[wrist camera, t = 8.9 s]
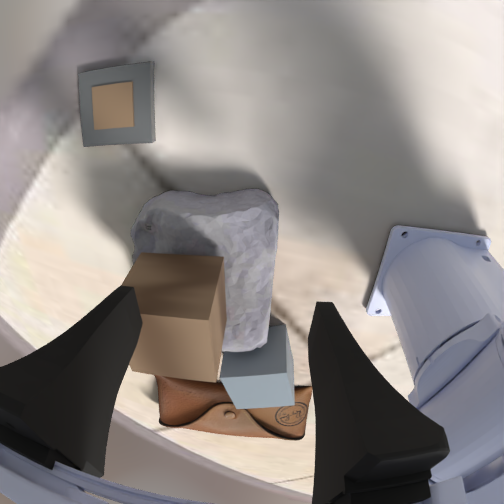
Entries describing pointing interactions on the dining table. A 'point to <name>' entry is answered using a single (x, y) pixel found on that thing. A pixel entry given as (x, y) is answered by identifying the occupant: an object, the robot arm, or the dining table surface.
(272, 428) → the sunglasses case
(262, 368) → the blue-grey cube
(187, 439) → the dining table surface
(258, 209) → the stone block
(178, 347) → the walnut cube
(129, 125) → the tile
